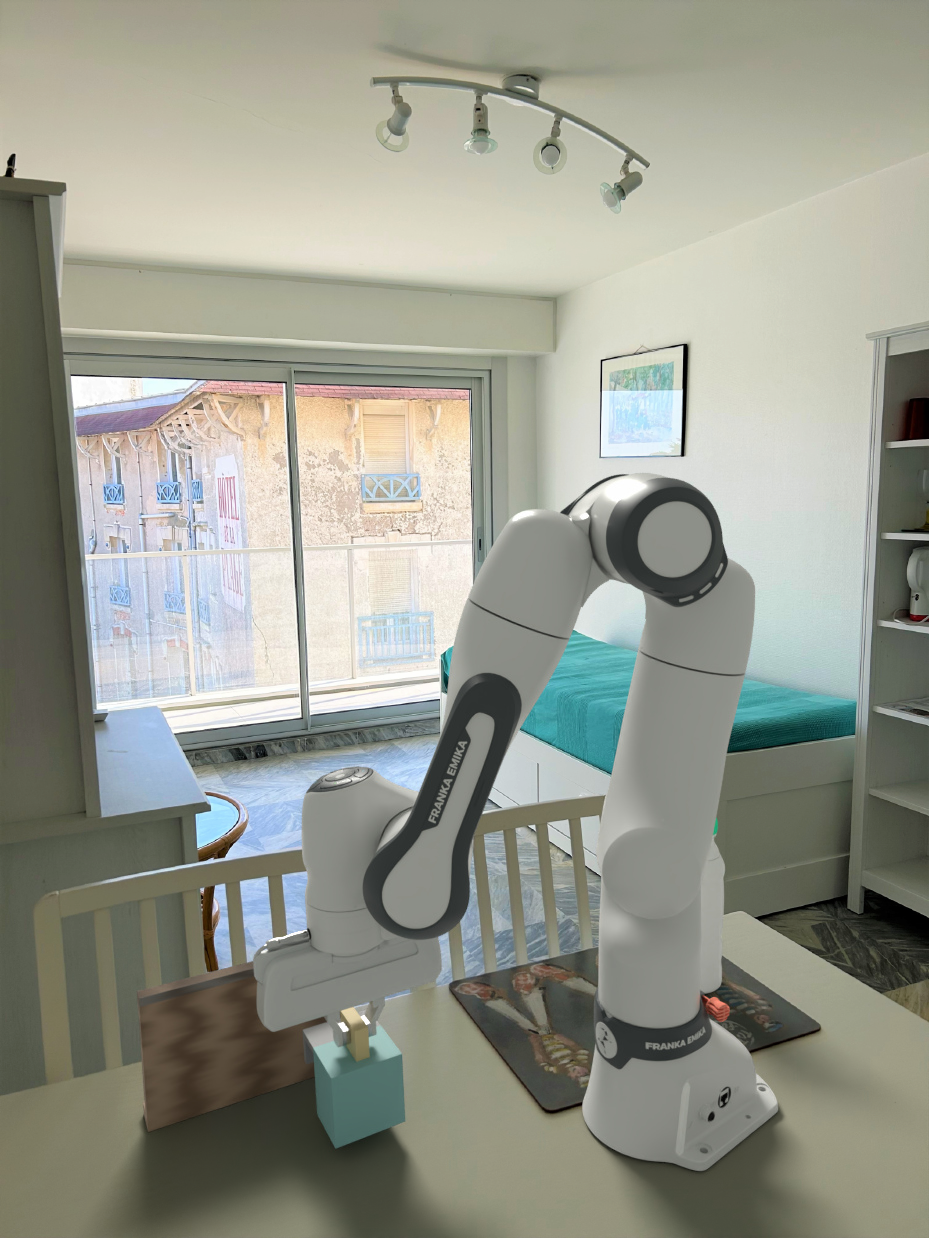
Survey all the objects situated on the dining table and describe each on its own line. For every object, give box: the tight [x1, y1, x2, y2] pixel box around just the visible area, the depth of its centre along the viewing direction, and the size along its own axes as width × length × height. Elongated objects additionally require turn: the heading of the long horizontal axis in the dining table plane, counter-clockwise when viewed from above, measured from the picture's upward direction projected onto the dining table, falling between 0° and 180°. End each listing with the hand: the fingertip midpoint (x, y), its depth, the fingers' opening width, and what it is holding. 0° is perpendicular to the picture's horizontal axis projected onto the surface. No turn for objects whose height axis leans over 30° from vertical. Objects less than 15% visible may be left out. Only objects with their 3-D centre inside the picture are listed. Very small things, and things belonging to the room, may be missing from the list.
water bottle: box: [700, 817, 726, 995], centre depth 124 cm, size 7×7×25 cm
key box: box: [302, 1007, 406, 1149], centre depth 97 cm, size 8×10×12 cm
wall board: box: [136, 960, 341, 1133], centre depth 104 cm, size 24×3×16 cm, turn 118°
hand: (355, 1038), depth 96 cm, fingers closed on key box
